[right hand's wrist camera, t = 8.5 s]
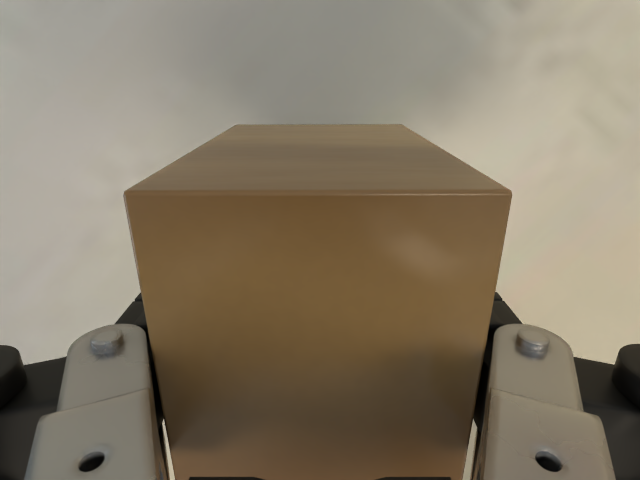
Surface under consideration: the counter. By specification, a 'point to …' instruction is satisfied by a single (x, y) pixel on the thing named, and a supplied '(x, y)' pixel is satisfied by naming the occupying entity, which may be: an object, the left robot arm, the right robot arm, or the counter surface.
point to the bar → (318, 301)
